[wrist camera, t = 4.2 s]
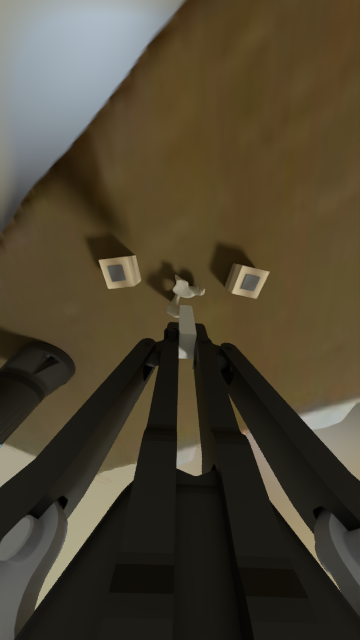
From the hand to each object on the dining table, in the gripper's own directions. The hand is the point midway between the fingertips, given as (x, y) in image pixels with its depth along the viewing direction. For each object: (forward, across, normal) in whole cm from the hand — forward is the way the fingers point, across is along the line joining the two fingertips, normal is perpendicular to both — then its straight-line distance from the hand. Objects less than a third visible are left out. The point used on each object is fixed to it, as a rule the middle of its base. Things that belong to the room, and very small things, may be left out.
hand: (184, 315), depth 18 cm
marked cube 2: (+14, -12, +3) cm, 19 cm away
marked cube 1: (+14, +12, +3) cm, 19 cm away
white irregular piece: (+15, 0, 0) cm, 15 cm away
